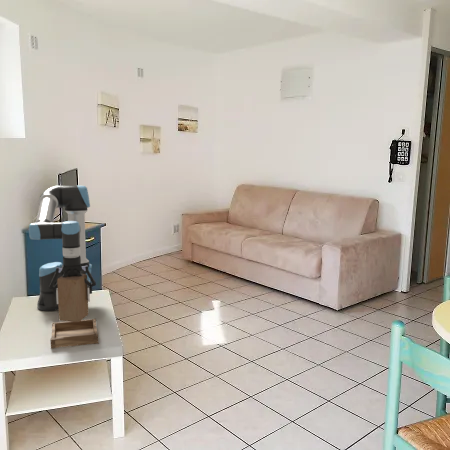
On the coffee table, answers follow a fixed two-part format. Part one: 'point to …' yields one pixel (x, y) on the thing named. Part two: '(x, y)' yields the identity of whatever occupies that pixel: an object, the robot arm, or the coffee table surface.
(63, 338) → the crate
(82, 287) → the wooden block
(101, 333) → the coffee table surface
